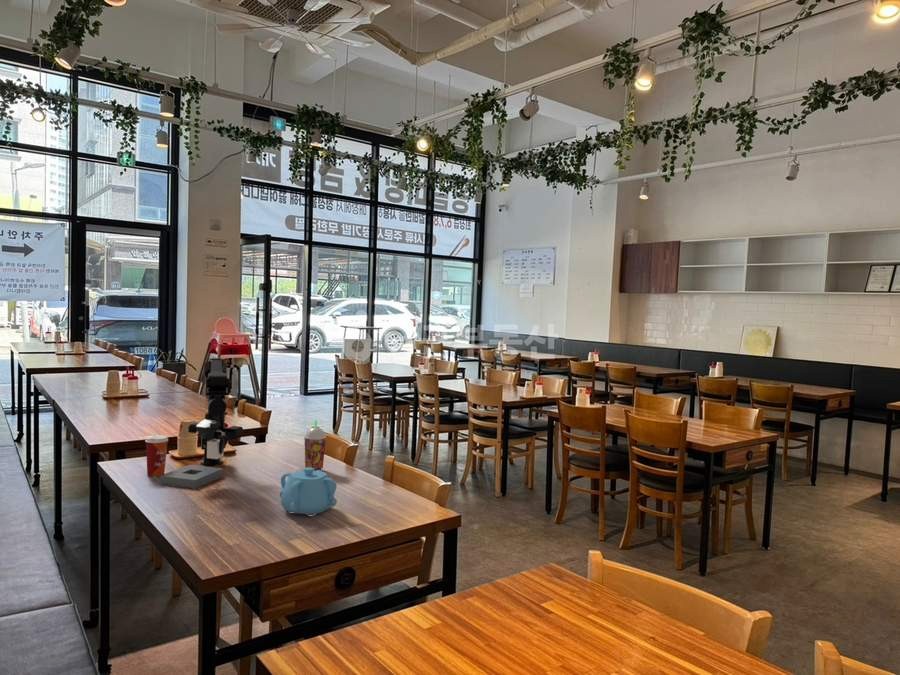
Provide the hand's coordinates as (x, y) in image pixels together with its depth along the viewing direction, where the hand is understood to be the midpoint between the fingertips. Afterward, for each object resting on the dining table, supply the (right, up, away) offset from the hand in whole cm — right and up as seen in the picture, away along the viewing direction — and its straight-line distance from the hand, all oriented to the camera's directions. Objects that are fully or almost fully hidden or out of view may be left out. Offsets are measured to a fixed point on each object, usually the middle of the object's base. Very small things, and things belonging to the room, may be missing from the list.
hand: (215, 453), depth 216 cm
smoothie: (+30, -11, +22) cm, 39 cm away
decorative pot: (+38, -14, -23) cm, 47 cm away
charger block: (0, -1, 0) cm, 1 cm away
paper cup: (-24, -9, +7) cm, 27 cm away
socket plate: (-9, -10, +2) cm, 14 cm away
